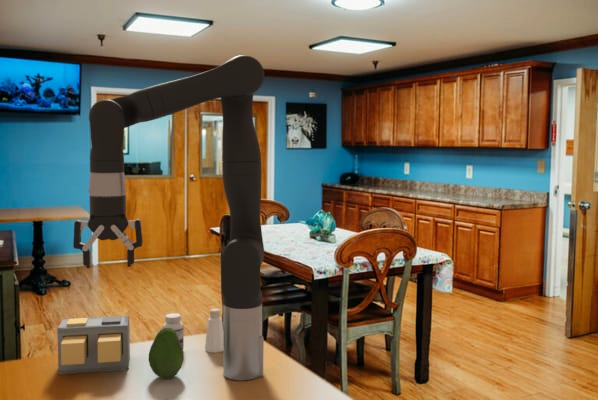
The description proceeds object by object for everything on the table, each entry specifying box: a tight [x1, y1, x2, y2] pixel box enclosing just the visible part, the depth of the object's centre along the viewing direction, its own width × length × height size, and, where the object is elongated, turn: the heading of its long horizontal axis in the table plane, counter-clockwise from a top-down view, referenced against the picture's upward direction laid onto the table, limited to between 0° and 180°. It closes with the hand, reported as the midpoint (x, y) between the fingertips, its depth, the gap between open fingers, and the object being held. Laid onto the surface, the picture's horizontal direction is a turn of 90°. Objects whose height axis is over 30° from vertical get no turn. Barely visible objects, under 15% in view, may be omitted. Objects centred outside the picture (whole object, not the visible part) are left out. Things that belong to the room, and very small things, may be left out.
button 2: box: [98, 333, 122, 363], centre depth 141 cm, size 5×8×5 cm, turn 13°
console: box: [56, 315, 131, 375], centre depth 145 cm, size 16×8×12 cm, turn 103°
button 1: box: [61, 335, 88, 365], centre depth 140 cm, size 5×8×5 cm, turn 13°
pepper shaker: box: [204, 307, 223, 354], centre depth 158 cm, size 5×5×11 cm
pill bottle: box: [162, 312, 185, 350], centre depth 157 cm, size 5×5×10 cm
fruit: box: [148, 327, 184, 380], centre depth 139 cm, size 8×8×12 cm
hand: (109, 266), depth 129 cm, fingers open, 8 cm apart
